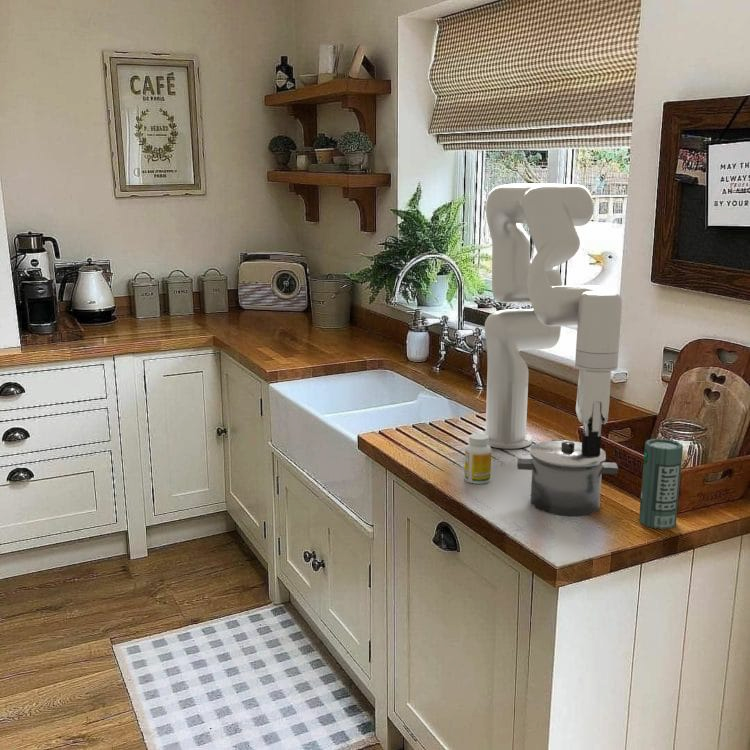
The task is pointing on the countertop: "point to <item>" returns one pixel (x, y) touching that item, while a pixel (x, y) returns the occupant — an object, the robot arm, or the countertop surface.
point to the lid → (564, 454)
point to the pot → (566, 487)
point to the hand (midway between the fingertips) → (590, 454)
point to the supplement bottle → (478, 459)
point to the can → (660, 483)
